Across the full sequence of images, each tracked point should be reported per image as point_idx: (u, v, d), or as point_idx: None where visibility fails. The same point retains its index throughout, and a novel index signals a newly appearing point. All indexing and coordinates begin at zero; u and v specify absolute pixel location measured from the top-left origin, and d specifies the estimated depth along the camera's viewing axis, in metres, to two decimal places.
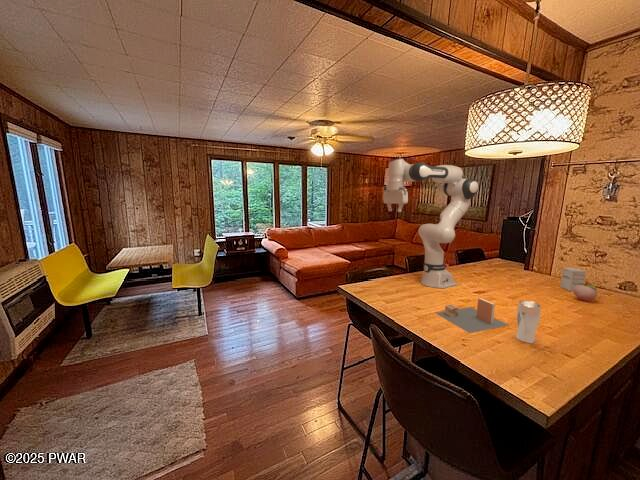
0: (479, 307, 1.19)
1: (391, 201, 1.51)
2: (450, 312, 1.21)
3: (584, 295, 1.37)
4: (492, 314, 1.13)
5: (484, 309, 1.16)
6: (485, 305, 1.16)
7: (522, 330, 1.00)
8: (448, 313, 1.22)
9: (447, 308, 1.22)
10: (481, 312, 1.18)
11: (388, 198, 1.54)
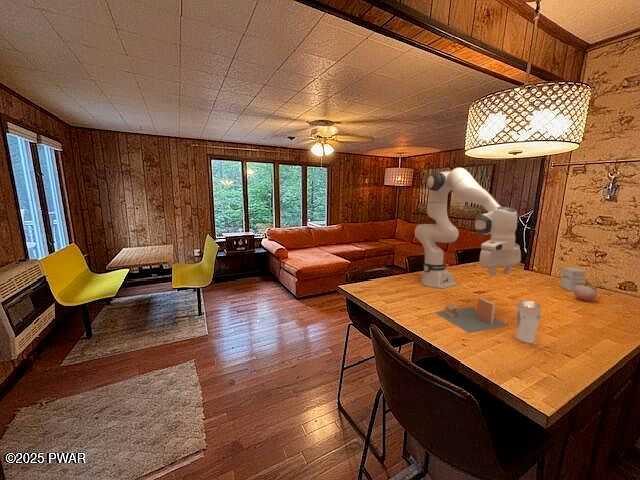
0: (479, 307, 1.19)
1: (502, 263, 1.13)
2: (450, 312, 1.21)
3: (584, 295, 1.37)
4: (492, 314, 1.13)
5: (484, 309, 1.16)
6: (485, 305, 1.16)
7: (522, 330, 1.00)
8: (448, 313, 1.22)
9: (447, 308, 1.22)
10: (481, 312, 1.18)
11: (497, 259, 1.12)
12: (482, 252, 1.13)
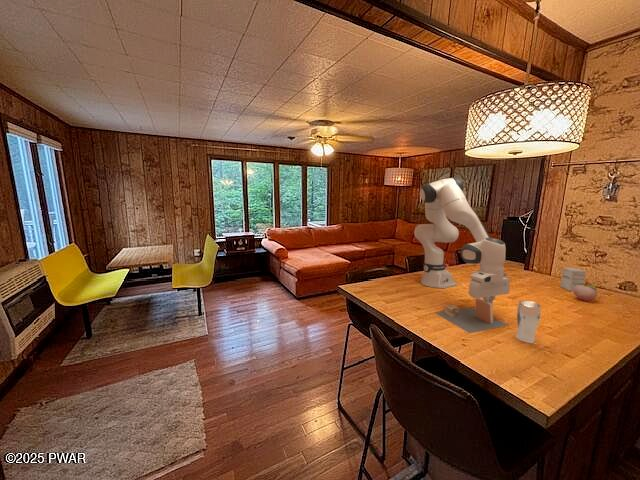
0: (478, 307, 1.18)
1: (491, 293, 1.14)
2: (450, 312, 1.21)
3: (584, 295, 1.37)
4: (491, 314, 1.13)
5: (482, 309, 1.16)
6: (483, 306, 1.15)
7: (522, 330, 1.00)
8: (448, 313, 1.22)
9: (447, 308, 1.22)
10: (480, 312, 1.18)
11: (486, 290, 1.12)
12: (471, 283, 1.13)
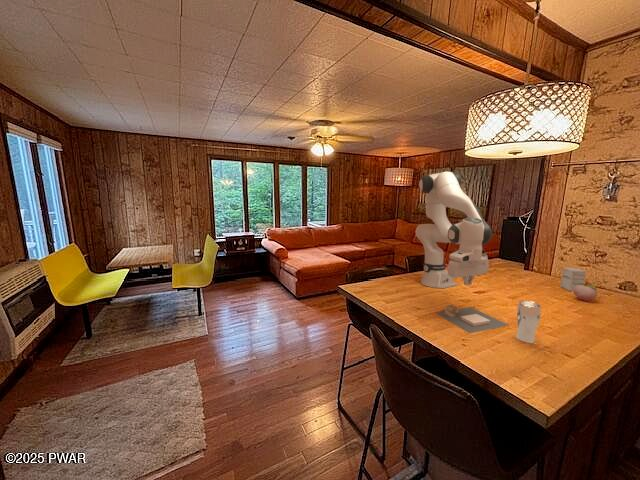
0: None
1: (470, 273, 1.14)
2: (450, 312, 1.21)
3: (584, 295, 1.37)
4: (482, 323, 1.12)
5: None
6: None
7: (522, 330, 1.00)
8: (448, 313, 1.22)
9: (447, 308, 1.22)
10: None
11: (465, 270, 1.13)
12: (450, 263, 1.14)
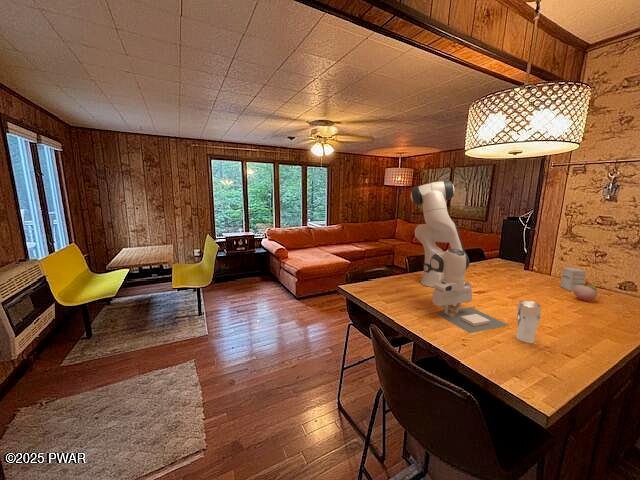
0: None
1: (453, 302, 1.20)
2: (450, 312, 1.21)
3: (584, 295, 1.37)
4: (482, 323, 1.12)
5: None
6: None
7: (522, 330, 1.00)
8: (448, 313, 1.22)
9: None
10: None
11: (448, 299, 1.19)
12: (434, 292, 1.19)
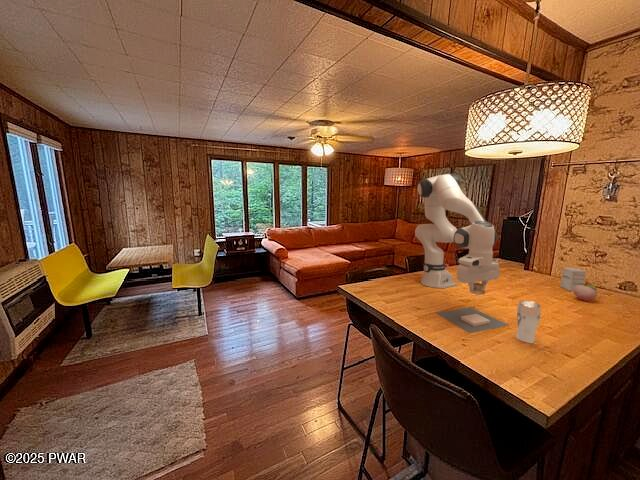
0: None
1: (480, 278, 1.10)
2: (476, 290, 1.11)
3: (584, 295, 1.37)
4: (482, 323, 1.12)
5: None
6: None
7: (522, 330, 1.00)
8: (474, 291, 1.12)
9: None
10: None
11: (474, 275, 1.09)
12: (459, 267, 1.10)
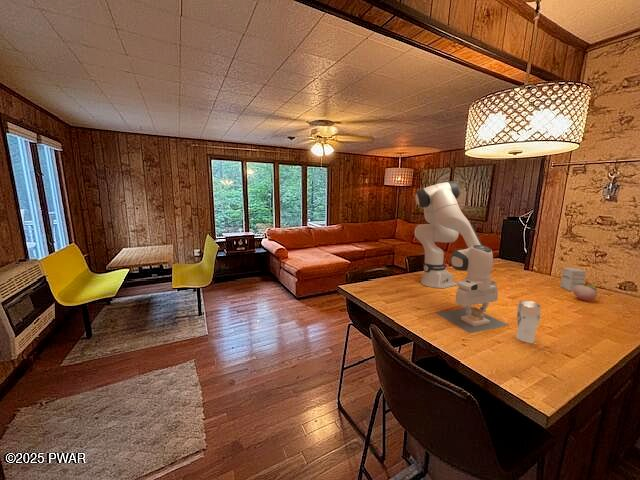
0: None
1: (479, 301, 1.12)
2: (474, 316, 1.13)
3: (584, 295, 1.37)
4: (482, 323, 1.12)
5: None
6: None
7: (522, 330, 1.00)
8: (472, 317, 1.14)
9: None
10: None
11: (473, 299, 1.11)
12: (458, 291, 1.12)
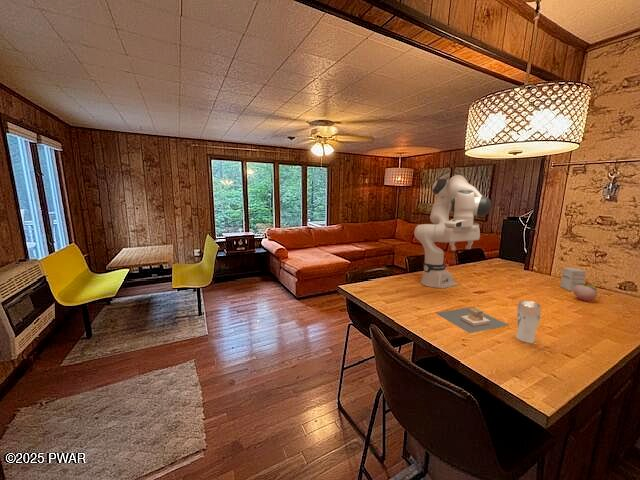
0: None
1: (463, 239, 1.30)
2: (474, 316, 1.13)
3: (584, 295, 1.37)
4: (482, 323, 1.12)
5: None
6: None
7: (522, 330, 1.00)
8: (472, 317, 1.14)
9: (471, 311, 1.15)
10: None
11: (458, 235, 1.29)
12: (445, 229, 1.30)
